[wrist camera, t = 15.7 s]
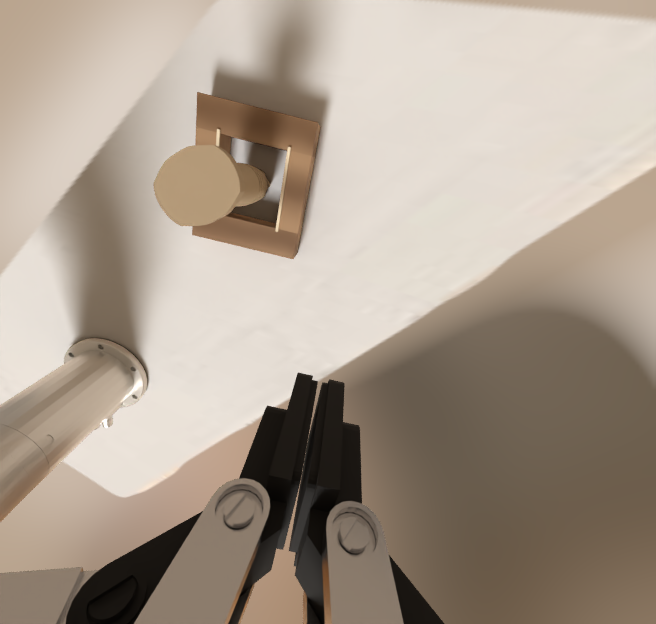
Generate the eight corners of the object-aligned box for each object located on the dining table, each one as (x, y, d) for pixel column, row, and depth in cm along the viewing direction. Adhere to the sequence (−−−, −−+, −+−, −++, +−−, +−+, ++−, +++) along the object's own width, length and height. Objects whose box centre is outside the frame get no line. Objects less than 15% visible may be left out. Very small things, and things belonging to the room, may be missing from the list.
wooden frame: (297, 253, 38) (292, 259, 35) (203, 230, 38) (191, 235, 35) (320, 127, 32) (317, 122, 29) (210, 99, 32) (196, 91, 29)
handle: (223, 176, 35) (140, 176, 21) (269, 148, 34) (213, 128, 20) (245, 216, 37) (181, 238, 23) (290, 190, 35) (252, 198, 21)
